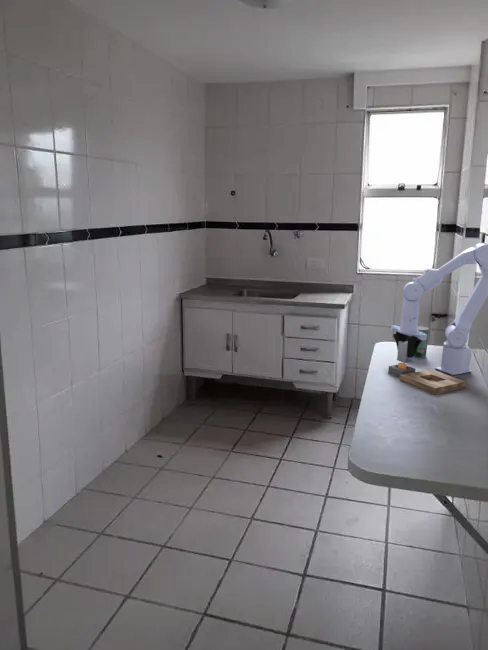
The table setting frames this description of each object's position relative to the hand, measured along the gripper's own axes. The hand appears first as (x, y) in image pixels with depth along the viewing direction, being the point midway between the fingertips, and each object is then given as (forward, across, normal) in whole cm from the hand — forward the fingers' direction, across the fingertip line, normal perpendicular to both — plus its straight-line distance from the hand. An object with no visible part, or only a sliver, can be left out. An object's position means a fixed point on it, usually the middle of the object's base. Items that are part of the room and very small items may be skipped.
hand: (405, 355), depth 192 cm
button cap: (+2, +7, -8) cm, 11 cm away
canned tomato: (+4, -8, +14) cm, 17 cm away
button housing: (+4, +6, -8) cm, 11 cm away
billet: (+2, 0, 0) cm, 2 cm away
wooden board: (+4, +18, -7) cm, 20 cm away
